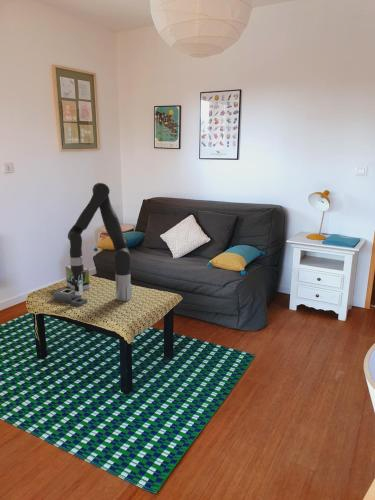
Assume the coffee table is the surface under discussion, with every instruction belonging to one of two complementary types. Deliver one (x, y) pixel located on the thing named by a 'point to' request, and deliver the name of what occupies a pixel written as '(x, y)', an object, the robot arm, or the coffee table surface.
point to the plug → (79, 288)
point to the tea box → (69, 275)
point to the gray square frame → (78, 302)
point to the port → (65, 295)
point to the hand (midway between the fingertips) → (79, 290)
